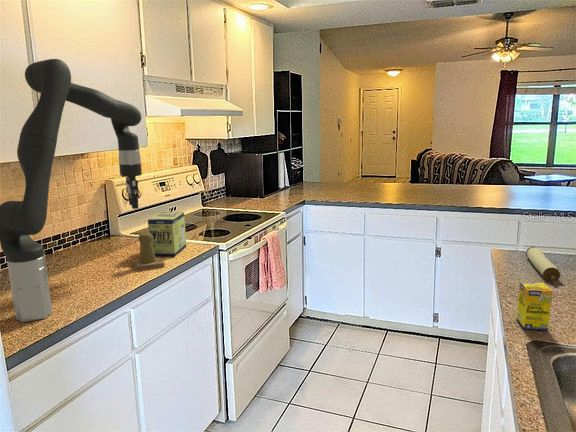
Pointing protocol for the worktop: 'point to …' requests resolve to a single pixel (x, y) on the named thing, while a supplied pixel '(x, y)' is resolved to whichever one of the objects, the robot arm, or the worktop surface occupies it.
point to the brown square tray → (141, 267)
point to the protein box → (168, 233)
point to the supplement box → (534, 306)
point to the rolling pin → (543, 264)
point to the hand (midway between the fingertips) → (133, 206)
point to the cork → (146, 248)
